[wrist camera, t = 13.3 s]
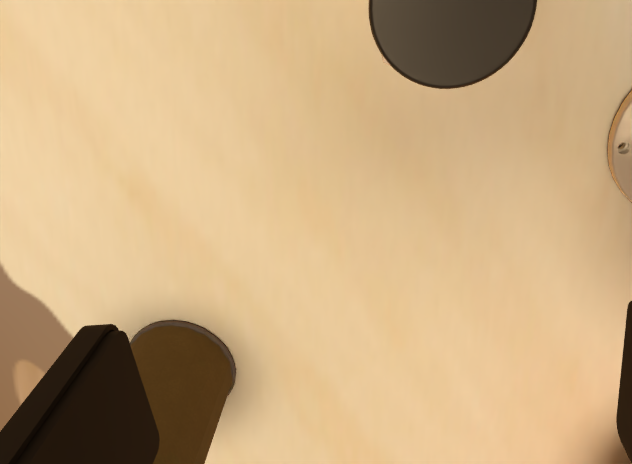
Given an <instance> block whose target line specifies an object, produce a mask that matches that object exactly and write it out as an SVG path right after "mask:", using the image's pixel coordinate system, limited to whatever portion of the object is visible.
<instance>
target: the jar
mask: <svg viewBox="0 0 632 464" xmlns="http://www.w3.org/2000/svg"><path fill="white" fill-rule="evenodd" d="M536 6H537V0H369V20H370V26H371V30H372V34H373V37H374V40H375V42H376V45H377V47H378V49H379V50H380V52H381V54H382V58H383V61H384V63H385V64H387V65H391V66H392V67H393V68H394V69H395V70H396V71H397V72H398V73H400V74H401V75H402V76H404V77H405V78H407V79H409V80H411V81H413V82H415V83H417V84H420V85H423V86H427V87H432V88H439V89H451V88H460V87H465V86H468V85H472V84H475V83H477V82H480V81H482V80H484V79H486V78H488V77H489V76H491V75H493V74H494V73H496V72H497V71H498V70H500V69H501V68H502V67H503V66H504V65H505V64H507V63H508V62H509V61H510V60H511V58H512V57H513V56H514V55H515V54H516V53H517V51H518V50H519V49H520V47H521V46H522V44H523V42H524V41H525V39H526V37H527V35H528V33H529V31H530V28H531V26H532V23H533V20H534V16H535V12H536Z"/></svg>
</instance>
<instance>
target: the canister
mask: <svg viewBox="0 0 632 464" xmlns="http://www.w3.org/2000/svg"><path fill="white" fill-rule="evenodd" d="M130 346H131V349H132V352H133V355H134V358H135V361H136V364H137V367H138V370H139V374H140V377H141V380H142V383H143V386H144V389H145V392H146V395H147V398H148V401H149V404H150V407H151V410H152V413H153V416H154V419H155V422H156V425H157V429H158V432H159V438H160V443H159V450H158V453H157V455H156V457H155V460H154V462H153V464H204V463H205V460H206V457H207V454H208V451H209V448H210V445H211V442H212V439H213V436H214V433H215V430H216V427H217V424H218V421H219V419H220V416H221V413H222V410H223V407H224V404H225V401H226V398H227V396H228V395H229V393H230V392H231V390H232V389H233V386H234V383H235V373H236V369H235V365H234V361H233V358H232V356H231V354H230V352H229V351H228V349H227V347H226V346H225V345H224V344H223V343H222V342H221V341H220V340H219V339H218V338H217V337H216V336H214V335H213V334H211V333H210V332H208V331H207V330H205V329H203V328H201V327H199V326H197V325H195V324H191V323H188V322H182V321H162V322H157V323H154V324H150V325H149V326H147V327H145V328H143V329H142V330H141V331H139V332H138V333H137V334H136V335H135V336H134V337H133V339H132V340H131V342H130Z"/></svg>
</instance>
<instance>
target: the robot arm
mask: <svg viewBox="0 0 632 464" xmlns="http://www.w3.org/2000/svg"><path fill="white" fill-rule="evenodd" d="M621 143H623V145H622V146H621V147H619V148H618V146H619V145H620V144H621ZM608 161H609V167H610V170H611V173H612V176H613V179H614V181H615V182H616V184H617V186H618V187H619V189H620V190H621V192H622V193H623V194H624V195H625V196H626V197H627V198H628V199H629V201H631V202H632V91H631V92H630V93H629V95H628V96H627V97H626V98H625V100H624V101H623V103H622V105H621V107H620V109H619V110H618V112H617V114H616V116H615V118H614V121H613V124H612V127H611V130H610V134H609V141H608ZM617 429H618V434H619V437H620V440H621V442H622V444H623V446H624V448H625V450H626V452H627V455H628V457H629V459H630V461H631V463H632V301H631V302H629V304H628V309H627V319H626V329H625V339H624V348H623V358H622V368H621V378H620V388H619V398H618V408H617ZM159 443H160V438H159V432H158V429H157V425H156V422H155V419H154V416H153V413H152V410H151V407H150V404H149V401H148V398H147V395H146V392H145V389H144V386H143V383H142V380H141V377H140V374H139V370H138V367H137V364H136V361H135V358H134V355H133V352H132V349H131V346H130V343H129V340H128V337H127V335H126V333H125V332H123V331H119V330H118V328H117V327H116V326H115V325H113V324H107V325H91V326H84V327H82V328H81V329H80V330H79V332H78V333H77V334H76V336H75V337H74V338H73V339H72V341H71V342H70V343H69V344H68V346H67V347H66V349H65V350H64V351H63V352H62V354H61V355H60V356H59V357H58V359H57V360H56V361H55V362H54V364H53V365H52V366H51V368H50V369H49V370H48V371H47V373H46V374H45V375H44V376H43V378H42V379H41V380H40V382H39V383H38V384H37V385H36V387H35V388H34V389H33V391H32V392H31V393H30V394H29V396H28V397H27V398H26V400H25V401H24V402H23V403H22V405H21V406H20V407H19V409H18V410H17V411H16V412H15V414H14V415H13V416H12V418H11V419H10V420H9V421H8V423H7V424H6V425H5V426H4V428H3V429H2V430H1V432H0V464H153V462H154V460H155V457H156V455H157V453H158V450H159Z"/></svg>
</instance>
